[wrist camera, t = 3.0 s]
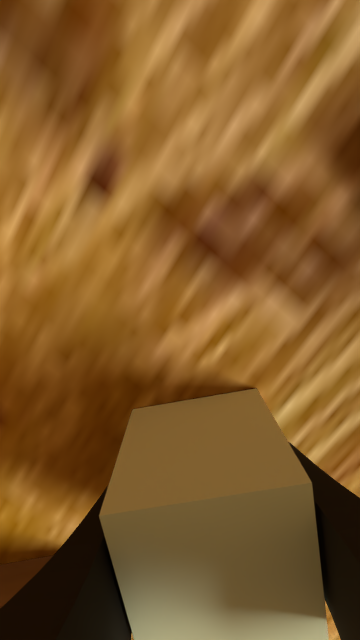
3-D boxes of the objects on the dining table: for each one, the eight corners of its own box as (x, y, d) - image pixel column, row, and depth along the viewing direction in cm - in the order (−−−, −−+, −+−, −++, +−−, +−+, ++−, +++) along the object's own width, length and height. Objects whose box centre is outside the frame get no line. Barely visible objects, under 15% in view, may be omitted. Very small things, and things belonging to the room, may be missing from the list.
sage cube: (271, 495, 13) (329, 645, 8) (157, 513, 13) (142, 670, 8) (256, 388, 12) (311, 482, 7) (132, 409, 12) (99, 515, 7)
